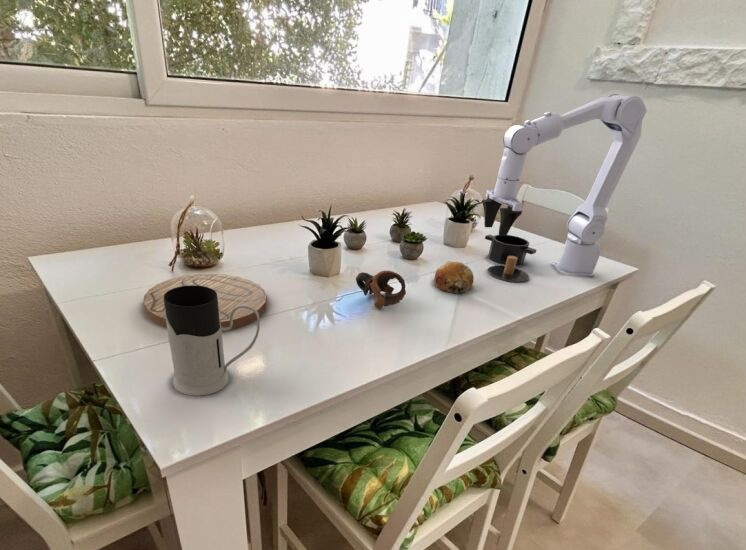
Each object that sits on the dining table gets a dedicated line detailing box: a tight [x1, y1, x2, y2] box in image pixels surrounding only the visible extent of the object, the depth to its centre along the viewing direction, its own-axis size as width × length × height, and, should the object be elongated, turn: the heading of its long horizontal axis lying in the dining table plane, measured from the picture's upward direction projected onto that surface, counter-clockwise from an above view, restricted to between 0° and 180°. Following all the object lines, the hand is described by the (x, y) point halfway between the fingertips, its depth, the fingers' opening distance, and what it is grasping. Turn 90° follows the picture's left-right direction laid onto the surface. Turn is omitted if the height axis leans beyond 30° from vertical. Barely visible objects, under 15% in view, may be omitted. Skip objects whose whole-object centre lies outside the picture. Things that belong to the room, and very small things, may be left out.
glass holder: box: [164, 285, 261, 397], centre depth 72 cm, size 9×14×15 cm, turn 95°
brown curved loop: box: [355, 270, 407, 310], centre depth 106 cm, size 12×10×8 cm
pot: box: [484, 234, 537, 267], centre depth 137 cm, size 10×16×6 cm, turn 43°
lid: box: [486, 256, 530, 283], centre depth 126 cm, size 11×11×6 cm
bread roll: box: [434, 260, 475, 294], centre depth 117 cm, size 10×10×8 cm
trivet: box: [142, 273, 268, 330], centre depth 98 cm, size 25×25×2 cm
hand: (495, 231), depth 127 cm, fingers open, 7 cm apart
